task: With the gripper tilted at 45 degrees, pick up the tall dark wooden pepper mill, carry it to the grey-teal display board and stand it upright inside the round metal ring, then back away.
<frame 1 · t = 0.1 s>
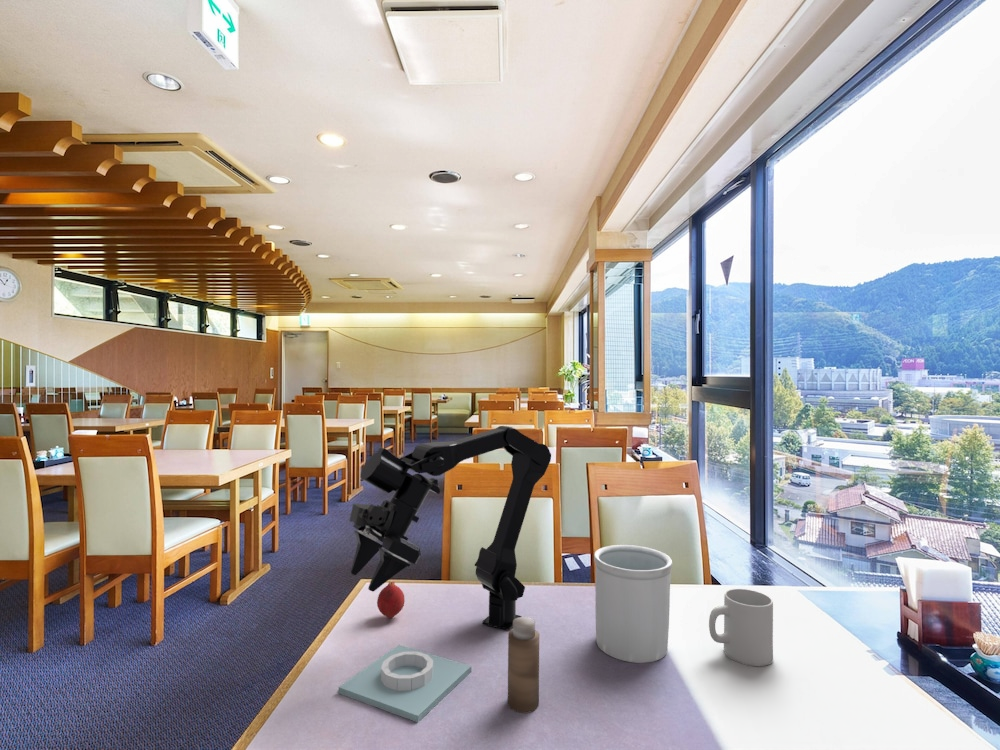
hand: (361, 582, 98), 15 cm above the table, tool tilted 35°, fingers open, 9 cm apart
pepper mill: (523, 702, 86), on the table
onion: (390, 619, 116), on the table
display board: (407, 681, 92), on the table
mug: (739, 656, 102), on the table
utensil holder: (631, 646, 105), on the table
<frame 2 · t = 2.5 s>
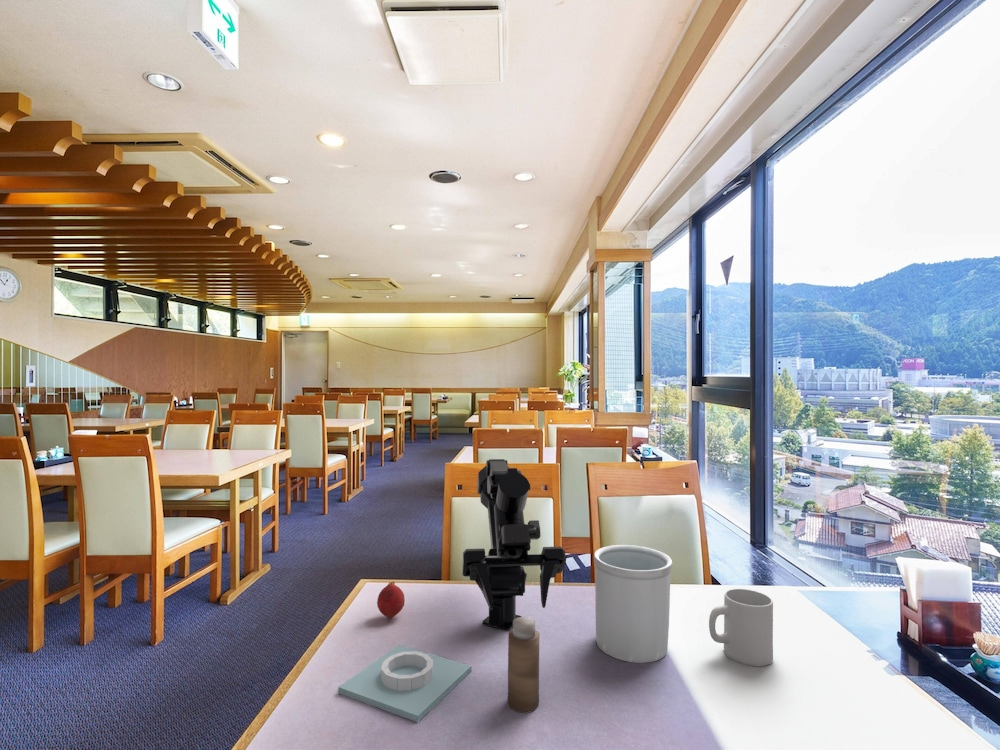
hand: (517, 608, 93), 12 cm above the table, tool tilted 45°, fingers open, 9 cm apart
nothing on the table moved.
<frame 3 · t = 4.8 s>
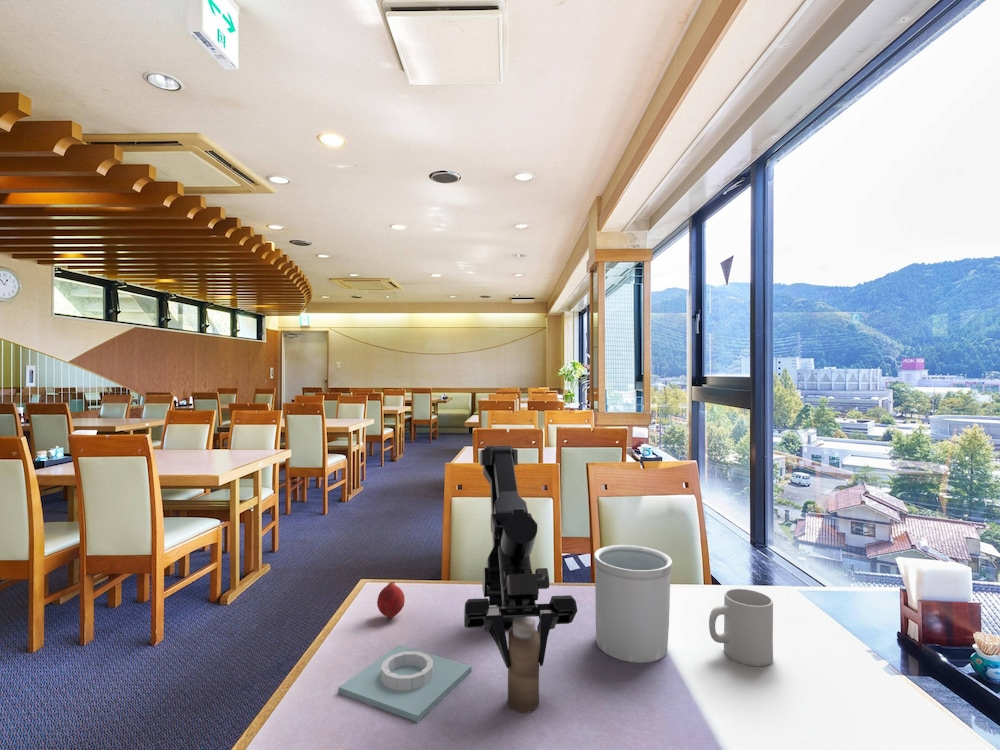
hand: (525, 666, 85), 7 cm above the table, tool tilted 45°, fingers closed on pepper mill, 5 cm apart
pepper mill: (523, 702, 86), on the table, touching gripper
everything else where it was.
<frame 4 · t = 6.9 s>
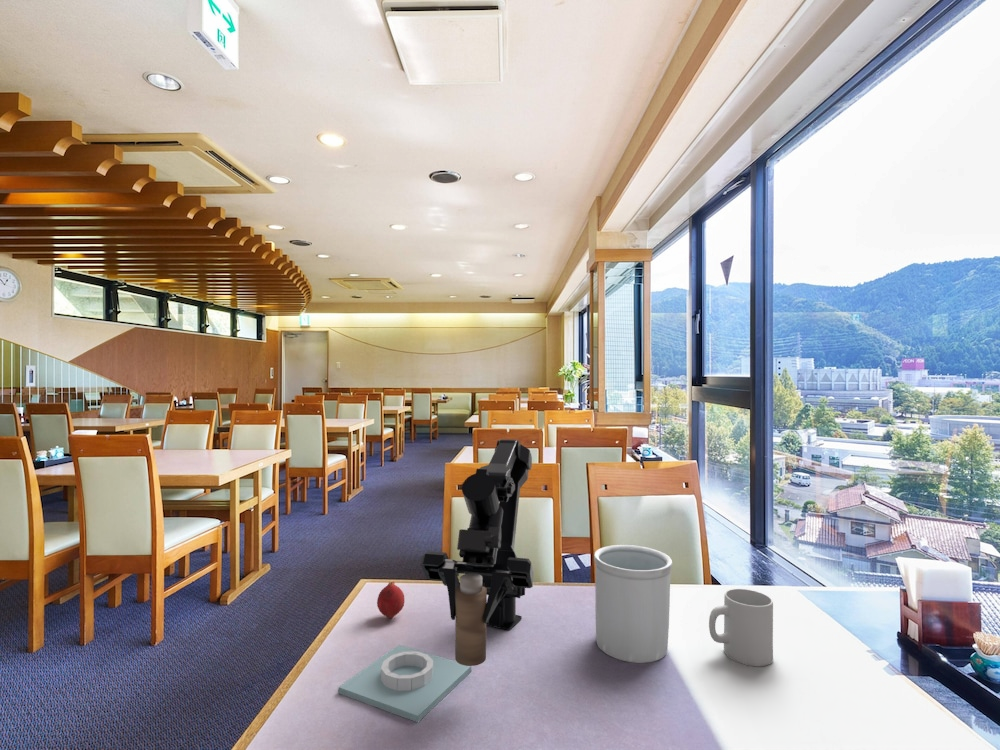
hand: (468, 620, 86), 13 cm above the table, tool tilted 45°, fingers closed on pepper mill, 5 cm apart
pepper mill: (470, 657, 87), point 7 cm above the table, touching gripper
everything else where it was.
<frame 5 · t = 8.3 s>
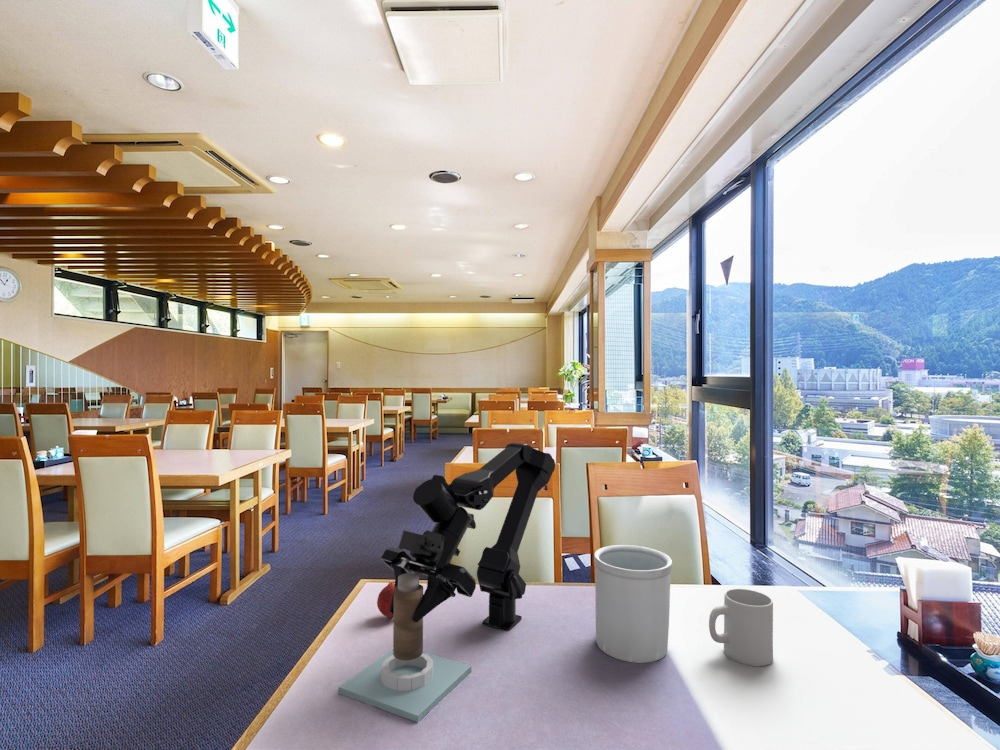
hand: (402, 617, 91), 12 cm above the table, tool tilted 45°, fingers closed on pepper mill, 5 cm apart
pepper mill: (408, 652, 92), point 5 cm above the table, touching gripper
everything else where it was.
when the fingers open (9 cm above the table, at t = 9.1 s): pepper mill drops 2 cm, resting on display board.
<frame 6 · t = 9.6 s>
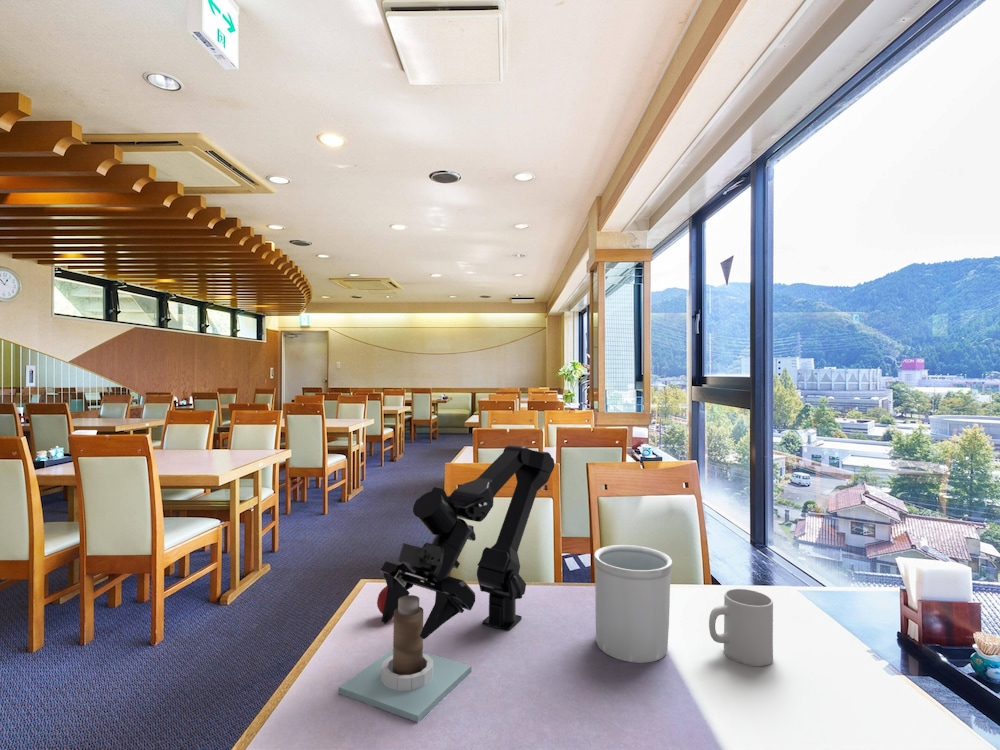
hand: (402, 630, 91), 9 cm above the table, tool tilted 45°, fingers open, 9 cm apart
pepper mill: (407, 675, 92), point 1 cm above the table, touching display board
everything else where it was.
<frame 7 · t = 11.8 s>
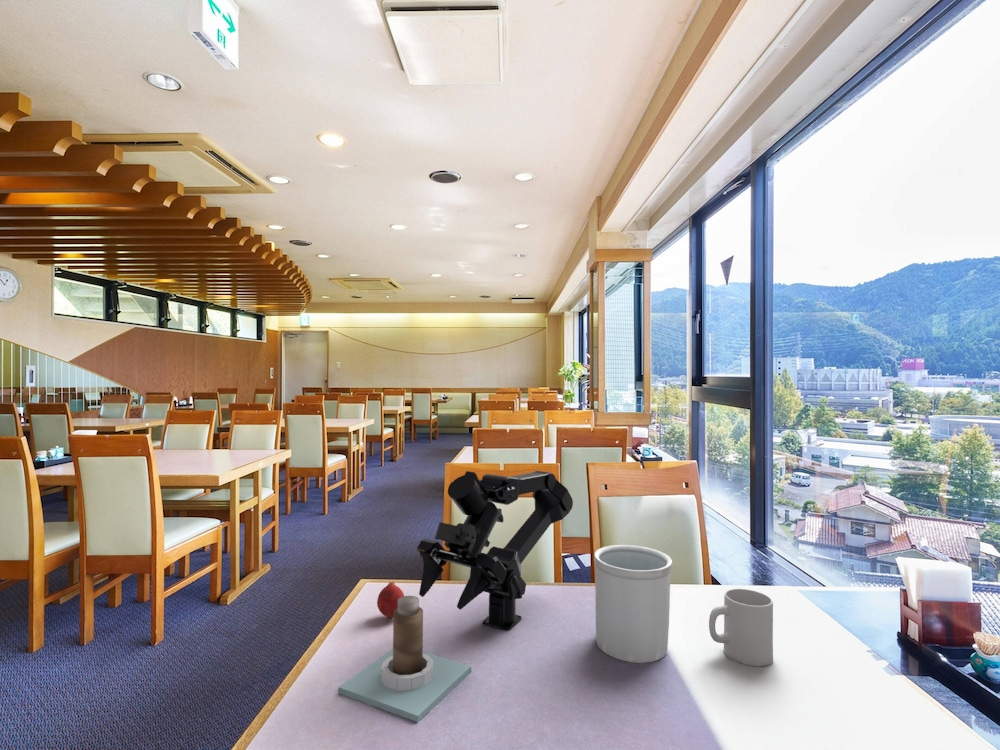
hand: (439, 601, 99), 11 cm above the table, tool tilted 45°, fingers open, 9 cm apart
nothing on the table moved.
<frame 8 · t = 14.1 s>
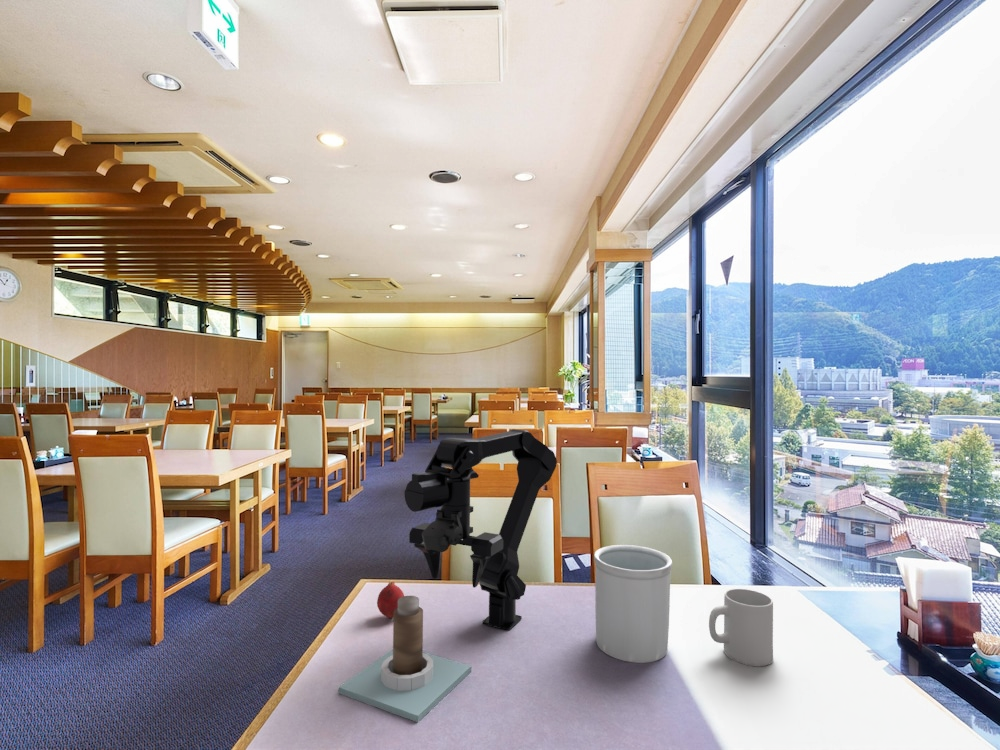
hand: (454, 582, 105), 12 cm above the table, tool pointing down, fingers open, 9 cm apart
nothing on the table moved.
at the end: pepper mill 0.0 cm off-centre on the display board, point 1.0 cm above the display board's base; pepper mill tilted 0°; the gripper is holding nothing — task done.
